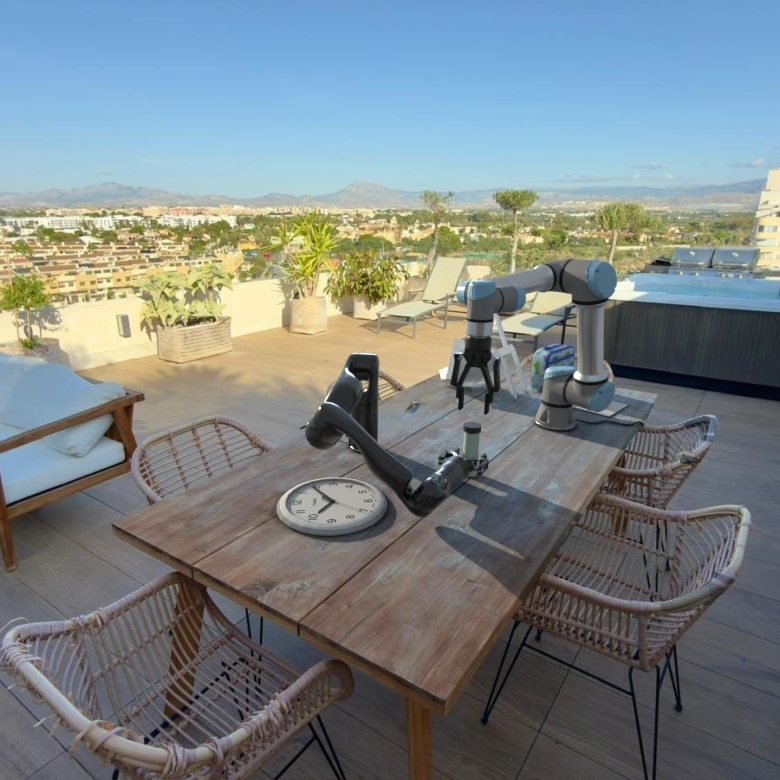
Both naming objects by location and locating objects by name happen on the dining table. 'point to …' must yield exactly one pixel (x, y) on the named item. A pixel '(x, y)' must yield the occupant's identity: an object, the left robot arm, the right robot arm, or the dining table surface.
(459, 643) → the dining table surface
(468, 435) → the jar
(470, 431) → the lid
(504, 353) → the white plastic object
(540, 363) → the lunch box
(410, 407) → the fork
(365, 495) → the wall clock
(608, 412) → the invitation card
